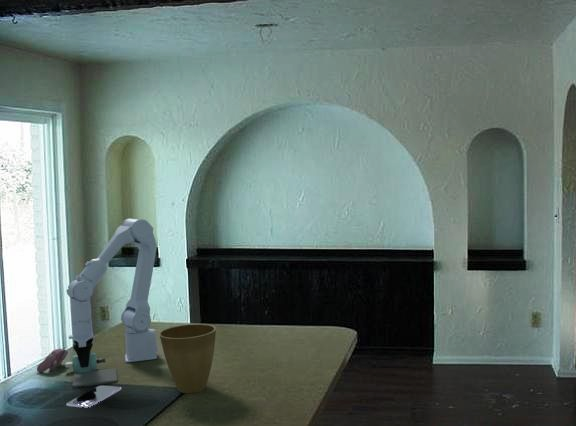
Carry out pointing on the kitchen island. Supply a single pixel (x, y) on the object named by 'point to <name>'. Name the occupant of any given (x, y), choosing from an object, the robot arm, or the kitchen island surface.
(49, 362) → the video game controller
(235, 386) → the kitchen island surface
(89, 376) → the pad
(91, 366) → the plug
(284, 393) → the kitchen island surface
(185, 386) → the plant pot
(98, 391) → the mobile phone
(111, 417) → the kitchen island surface
